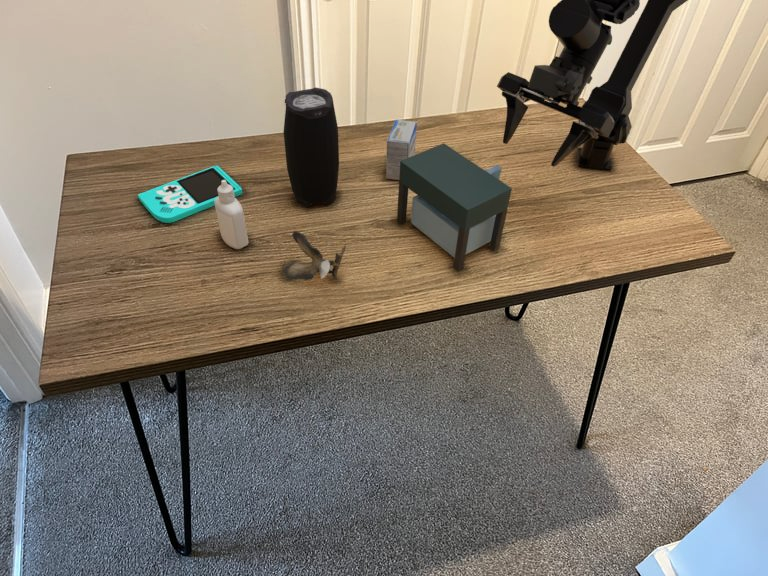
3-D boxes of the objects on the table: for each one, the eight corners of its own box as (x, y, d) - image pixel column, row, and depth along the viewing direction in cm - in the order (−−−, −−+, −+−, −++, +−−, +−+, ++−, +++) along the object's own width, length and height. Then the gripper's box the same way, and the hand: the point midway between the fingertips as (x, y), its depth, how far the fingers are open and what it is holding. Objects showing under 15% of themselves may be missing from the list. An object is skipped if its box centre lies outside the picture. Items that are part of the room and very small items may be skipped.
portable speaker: (281, 199, 109) (269, 99, 96) (315, 176, 115) (309, 79, 101) (315, 217, 106) (308, 117, 92) (349, 193, 111) (347, 95, 97)
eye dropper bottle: (222, 252, 99) (210, 193, 90) (220, 231, 102) (208, 172, 94) (249, 249, 99) (239, 189, 91) (246, 228, 103) (236, 169, 95)
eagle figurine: (346, 251, 98) (294, 235, 98) (346, 240, 91) (290, 222, 91) (332, 295, 96) (279, 278, 96) (331, 287, 89) (273, 269, 89)
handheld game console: (138, 198, 108) (136, 192, 107) (217, 169, 116) (216, 163, 115) (162, 226, 103) (160, 220, 102) (244, 193, 110) (243, 187, 109)
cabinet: (437, 202, 110) (443, 142, 101) (499, 248, 101) (512, 188, 93) (396, 221, 106) (400, 160, 97) (457, 271, 97) (467, 210, 88)
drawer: (468, 194, 112) (476, 150, 105) (515, 227, 105) (526, 183, 98) (410, 222, 105) (413, 177, 98) (456, 259, 99) (463, 214, 92)
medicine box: (408, 182, 114) (410, 142, 108) (385, 179, 115) (386, 139, 109) (414, 160, 120) (417, 121, 114) (393, 157, 120) (394, 118, 114)
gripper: (508, 23, 90) (461, 120, 94) (622, 63, 81) (564, 168, 85) (532, 49, 99) (488, 136, 103) (637, 87, 90) (584, 181, 94)
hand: (528, 154), depth 96 cm, fingers open, 9 cm apart
